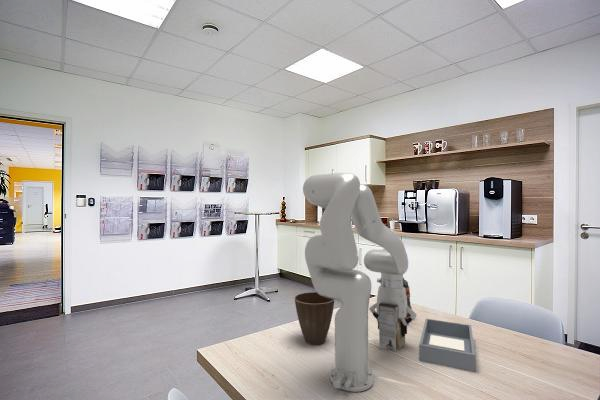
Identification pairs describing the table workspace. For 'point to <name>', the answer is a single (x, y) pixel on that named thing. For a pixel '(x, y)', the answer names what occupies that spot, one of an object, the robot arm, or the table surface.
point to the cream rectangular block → (447, 343)
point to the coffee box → (390, 328)
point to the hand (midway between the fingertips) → (392, 333)
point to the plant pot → (314, 316)
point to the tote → (446, 355)
